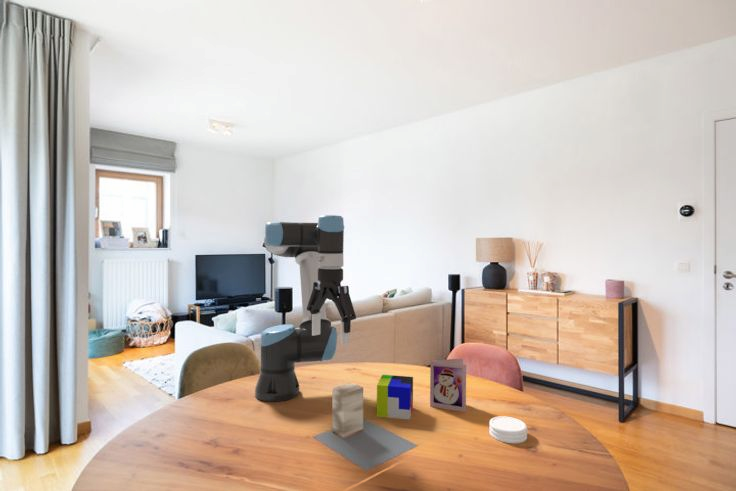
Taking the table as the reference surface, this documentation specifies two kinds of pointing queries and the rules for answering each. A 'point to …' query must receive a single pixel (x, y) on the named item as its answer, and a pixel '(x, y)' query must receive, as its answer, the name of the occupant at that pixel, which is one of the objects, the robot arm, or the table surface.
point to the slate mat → (367, 445)
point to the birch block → (347, 410)
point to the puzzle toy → (395, 396)
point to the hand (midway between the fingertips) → (329, 339)
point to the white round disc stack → (508, 429)
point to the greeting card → (448, 384)
